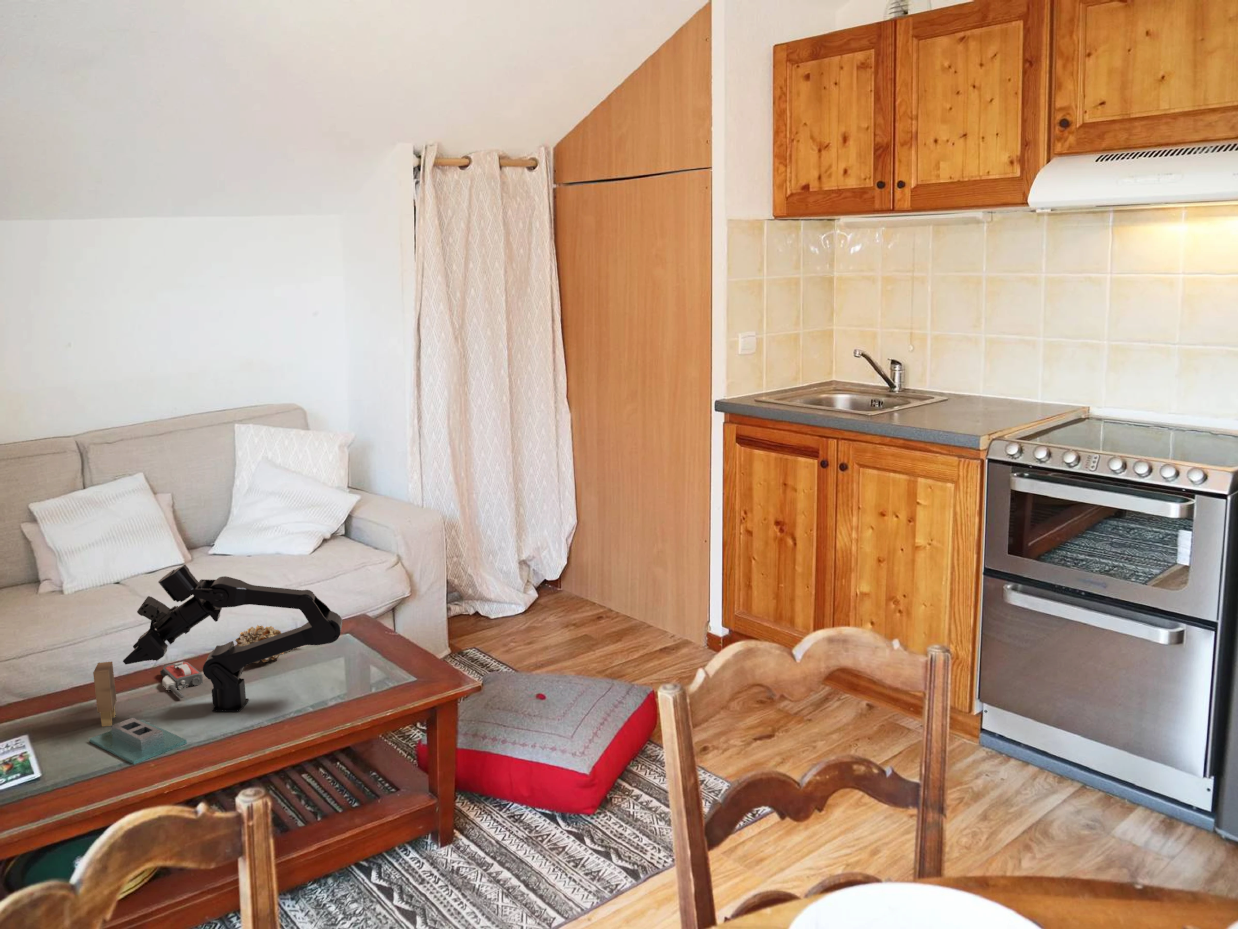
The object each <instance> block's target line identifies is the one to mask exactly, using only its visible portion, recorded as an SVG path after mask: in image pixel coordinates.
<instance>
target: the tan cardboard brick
mask: <svg viewBox="0 0 1238 929" xmlns="http://www.w3.org/2000/svg"><path fill="white" fill-rule="evenodd" d="M92 673H93V682H94V691H95V693H94V694H95V700H96V702H95V703H96V709H97V710H96V712H97V713H99V714H100V722H101V727H111V725H113V718H115V717H116V716H117V715H116V708H115V706H116V703H117V692H116V684H115V683H116V682H115V674H114V665H113V661H105V662H104V661H103V662H98V663H97V664H96V666H95V668H94V670H93V672H92ZM115 715H116V716H115Z"/></svg>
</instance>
